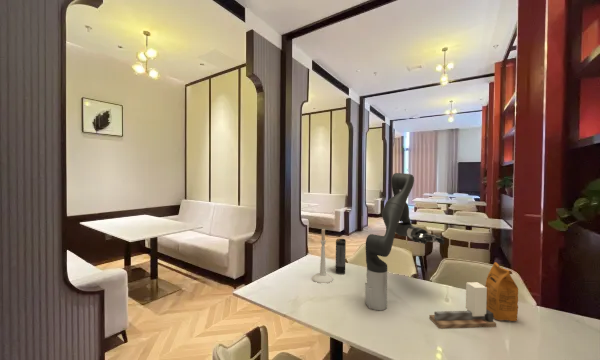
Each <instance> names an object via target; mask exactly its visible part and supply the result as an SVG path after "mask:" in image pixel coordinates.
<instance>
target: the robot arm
mask: <svg viewBox="0 0 600 360" xmlns="http://www.w3.org/2000/svg"><path fill="white" fill-rule="evenodd" d="M390 181H391V190H392V195H393V196H392V197H390V198H389V199H388V200H387V201H386V202H385V204H384V207H383V208H382V211H381V215H382V216H381V217H382V220H383V223H384V225H385V233H384V235H379V234H373V233H372V234H371V233H370V234H368V235H367V236H366V239H365V263H366V282H365V284H364V285H365V286H364V303H365V304H366V306H367V308H368V309H370V310H375V311H384V310H386V309H387V307H388V263H386V262H385V261H384V260H382V259H381V258H380V257H382V258H386V257H389V255H390V254H391V251H392V247H393V244H394V241H395V235H398V236H399V237H400V236H401V237H408V238H409V239H410V240H411V241H413V242H414V243H418V244H423V245H427V244H428V242H429V243H439V244H441V245H444V244H445V239H444V237H443V236H441V235H438V234H431V233H429V232H428V231H427V230H426V229H425V228H421V227H420V226H416V225H413V224H412V222H411V219H410V208H409V204H408V203H407V201H408V198H409V195H410V193H411V191H412V189H413V187H414V184H415V178H414V175H412V174H410V173H405V172H404V173H403V172H402V173H401V172H394V173H393V174H392V177H391V180H390Z"/></svg>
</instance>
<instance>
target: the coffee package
mask: <svg viewBox="0 0 600 360" xmlns="http://www.w3.org/2000/svg"><path fill="white" fill-rule="evenodd" d="M491 266H492V267H491V268H490V271H489V272H488V274H487V277H486V281H485V287H487V300H486V309H487V310H489V311H490V312H492V313H493V319H494V320H496V321H510V322H517V321H518V311H519V305H518V304H519V287H518V285H517V284H516V282H515V281H514V279H513V278H512V276H511V275H513V271H512V270H510V269H506V268H504V267H500V264H499V263H498V262H496V261H495V262H494V263H493V265H491Z"/></svg>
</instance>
